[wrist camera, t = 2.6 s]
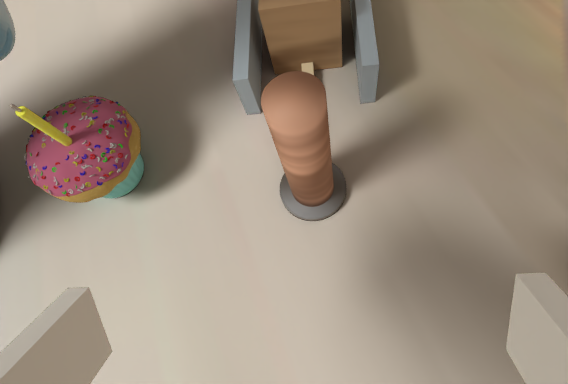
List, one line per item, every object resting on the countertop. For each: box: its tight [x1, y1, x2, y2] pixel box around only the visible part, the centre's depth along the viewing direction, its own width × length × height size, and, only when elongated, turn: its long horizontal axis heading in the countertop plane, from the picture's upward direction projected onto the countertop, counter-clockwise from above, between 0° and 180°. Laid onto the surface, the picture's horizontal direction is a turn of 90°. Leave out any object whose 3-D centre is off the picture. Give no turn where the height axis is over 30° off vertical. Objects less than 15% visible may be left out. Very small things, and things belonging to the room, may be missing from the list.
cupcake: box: [9, 96, 144, 202], centre depth 27 cm, size 9×8×12 cm
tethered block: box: [258, 0, 346, 221], centre depth 26 cm, size 20×6×12 cm, turn 0°
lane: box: [233, 0, 379, 115], centre depth 32 cm, size 14×11×4 cm
